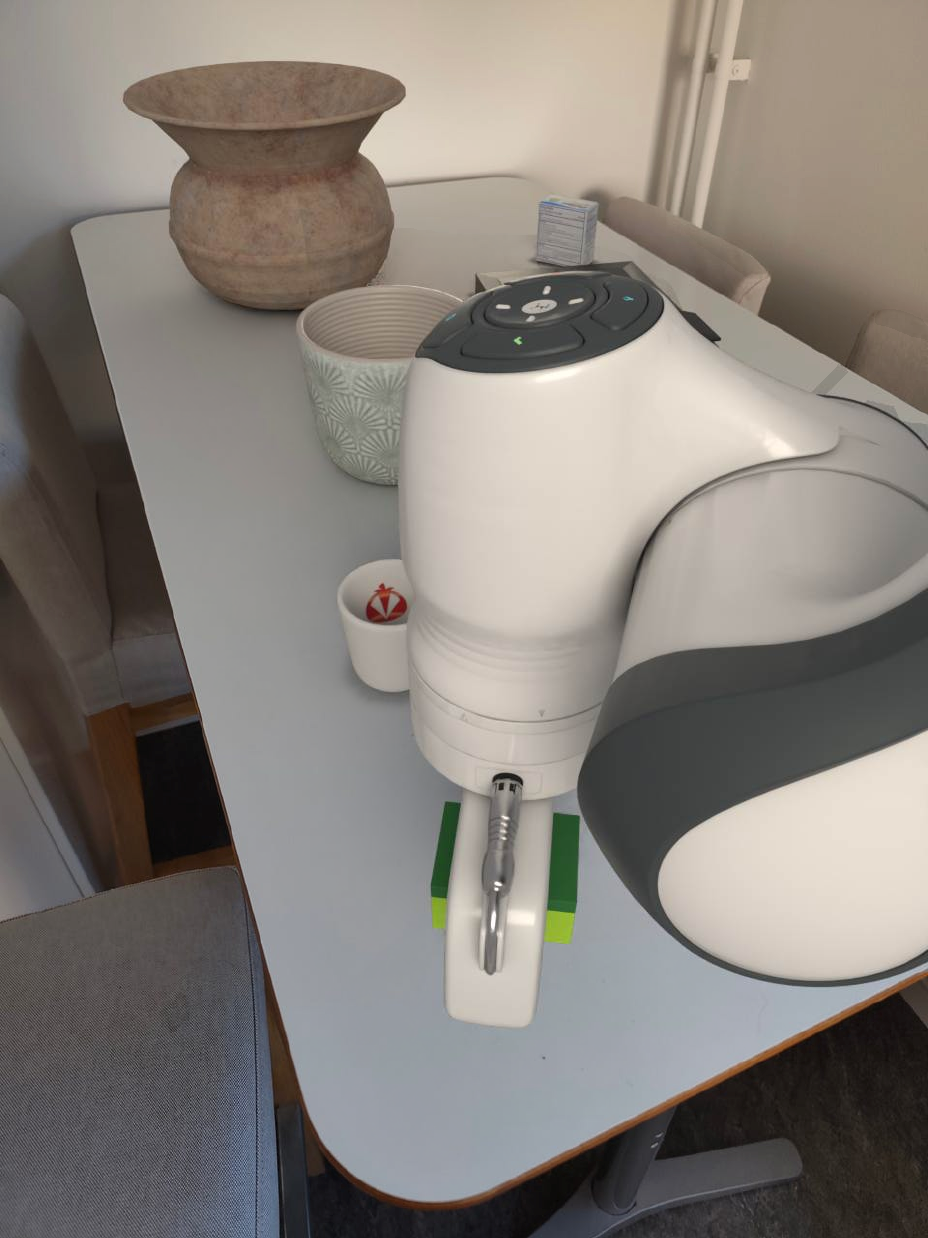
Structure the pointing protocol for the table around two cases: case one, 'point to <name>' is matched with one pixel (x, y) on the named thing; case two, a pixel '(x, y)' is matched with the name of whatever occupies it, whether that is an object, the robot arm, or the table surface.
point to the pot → (274, 176)
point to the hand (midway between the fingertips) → (507, 873)
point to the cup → (377, 622)
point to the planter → (365, 369)
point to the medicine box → (566, 231)
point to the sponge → (560, 877)
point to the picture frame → (616, 268)
